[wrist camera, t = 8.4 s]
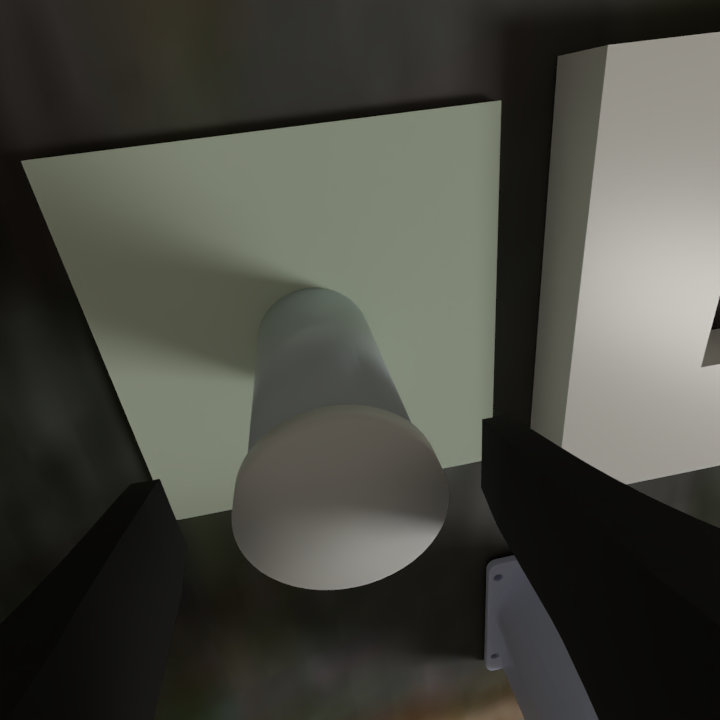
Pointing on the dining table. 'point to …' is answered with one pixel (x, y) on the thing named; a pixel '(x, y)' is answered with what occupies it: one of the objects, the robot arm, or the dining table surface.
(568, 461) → the robot arm
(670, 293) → the housing
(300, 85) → the dining table surface
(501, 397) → the dining table surface
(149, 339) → the mat
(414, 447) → the cartridge
